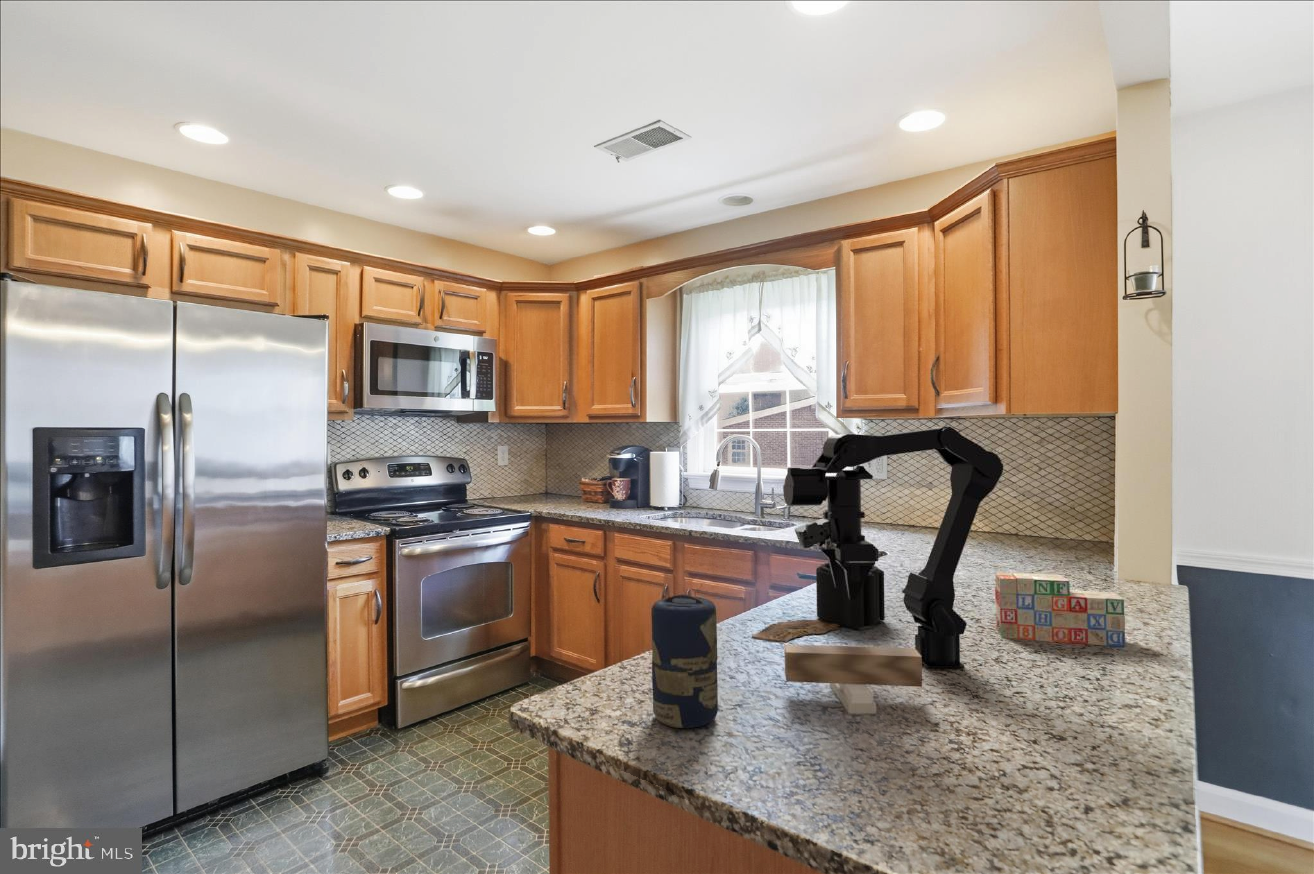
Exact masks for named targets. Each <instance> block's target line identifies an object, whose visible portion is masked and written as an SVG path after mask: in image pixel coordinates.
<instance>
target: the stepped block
mask: <svg viewBox="0 0 1314 874" xmlns="http://www.w3.org/2000/svg"><path fill="white" fill-rule="evenodd" d="M829 686H830V688H831V689H832V690H833V692H834V694H835V695H836V696H837V698H838V699H839V701H840V703H841V704H842V706H843V708H844V709H845V710H846V712H847V714H851V715H852V714H853V715H854V714H855V715H856V714H859V715H861V714H862V715H863V714H865V715H866V714H867V715H868V714H871V715H873V714H877V703H876V701H875V700H874V698H873V697H874V695H873V694H874V693H873V692H872V690H871V689H870V688H869V687H868V685H863V684H836V683H829Z"/></svg>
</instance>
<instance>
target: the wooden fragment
mask: <svg viewBox="0 0 1314 874" xmlns="http://www.w3.org/2000/svg"><path fill="white" fill-rule="evenodd" d="M839 627H840V625H839V624H838V623H833V622H832V623H828V622H825V621H823V620H822V619H820V618H819V619H797V620H796V619H795V620H791V621H790V620H788V621H779V622H776V623H772V624H770V625H769V626H767V627H765V628H763V629H762V630H760V631H758V633H757V632H756V633H754V634H752V635H751V639H755V640H760V641H766V642H775V643H777V642H779V643H787V642H788V641H791V640H794V639H796V638H801V637H804V636H809V635H813V636H815V635H819V634H820V635H822V634H826V633H828V632H830V631H836V630H837V631H838V630H839Z"/></svg>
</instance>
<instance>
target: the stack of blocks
mask: <svg viewBox="0 0 1314 874" xmlns="http://www.w3.org/2000/svg"><path fill="white" fill-rule="evenodd" d="M994 573H995V575H994V576H995V588H994V592H995V594H994V595H995V611H996V612H995V613H996V616H995V618H996V622H995V623H996V631H997V632H998V634H999V636H1000V638H1004V639H1005V638H1007V639H1015V640H1016V639H1017V640H1018V639H1019V640H1029V641H1041V642H1055V643H1068V644H1079V645H1094V646H1107V647H1119V648H1120V647H1121V648H1125V647H1126V615H1125V600H1124V598H1122V597H1121V596H1120V595H1118V594H1116V593H1115V592H1114V591H1113V592H1111V591H1110V592H1108V591H1093V590H1076V589H1071V587H1070V580H1069V579H1067V577H1064V576H1063V575H1062V574H1050V573H1049V574H1047V573H1025V572H1024V573H1023V572H1022V573H1021V572H1020V573H1019V572H1000V571H999V572H998V571H996V572H994Z"/></svg>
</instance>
